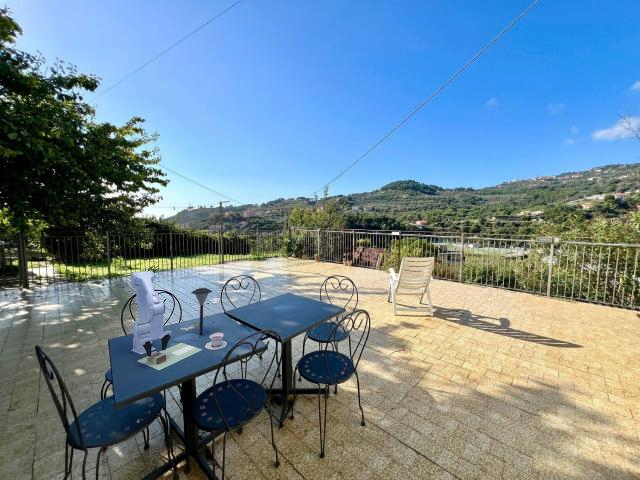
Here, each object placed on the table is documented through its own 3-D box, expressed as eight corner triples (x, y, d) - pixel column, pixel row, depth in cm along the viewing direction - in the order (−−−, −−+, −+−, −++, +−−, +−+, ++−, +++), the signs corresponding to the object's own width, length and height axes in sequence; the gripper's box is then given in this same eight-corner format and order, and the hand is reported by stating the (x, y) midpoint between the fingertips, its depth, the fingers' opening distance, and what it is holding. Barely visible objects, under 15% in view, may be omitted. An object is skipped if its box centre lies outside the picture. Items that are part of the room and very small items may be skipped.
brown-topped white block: (146, 360, 136) (146, 354, 135) (155, 356, 140) (155, 351, 139) (157, 364, 132) (157, 358, 132) (166, 360, 136) (166, 355, 136)
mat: (136, 361, 135) (136, 360, 135) (181, 343, 157) (181, 342, 157) (159, 371, 127) (159, 369, 127) (202, 350, 149) (202, 349, 149)
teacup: (219, 351, 149) (219, 340, 149) (200, 348, 151) (200, 338, 151) (230, 342, 161) (230, 332, 160) (213, 340, 163) (213, 330, 163)
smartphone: (203, 323, 189) (187, 330, 174) (203, 325, 189) (187, 332, 174) (194, 322, 191) (178, 329, 176) (194, 323, 191) (178, 330, 176)
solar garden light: (206, 339, 163) (207, 291, 162) (186, 338, 164) (187, 291, 162) (214, 331, 176) (215, 287, 174) (196, 331, 176) (197, 286, 175)
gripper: (147, 333, 127) (146, 360, 127) (175, 323, 140) (174, 349, 140) (138, 330, 130) (138, 357, 130) (166, 321, 143) (166, 346, 143)
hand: (156, 352), depth 135 cm, fingers open, 7 cm apart
